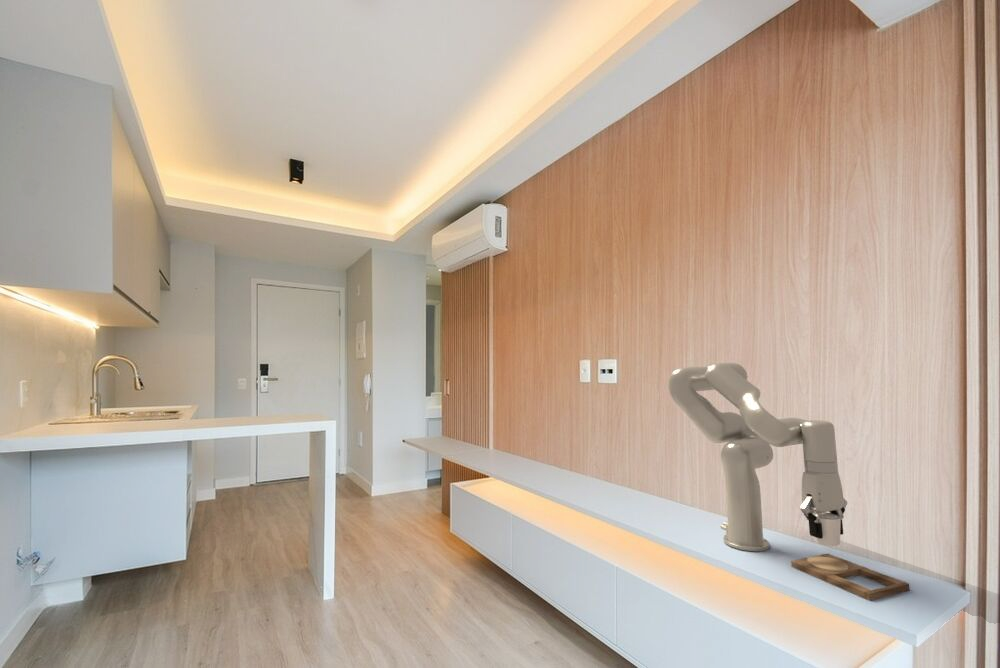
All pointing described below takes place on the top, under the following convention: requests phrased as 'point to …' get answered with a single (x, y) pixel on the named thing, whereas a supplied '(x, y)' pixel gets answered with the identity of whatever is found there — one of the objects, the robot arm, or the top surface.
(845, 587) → the pocket board
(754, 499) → the robot arm
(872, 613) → the top surface
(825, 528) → the cream short cylinder
